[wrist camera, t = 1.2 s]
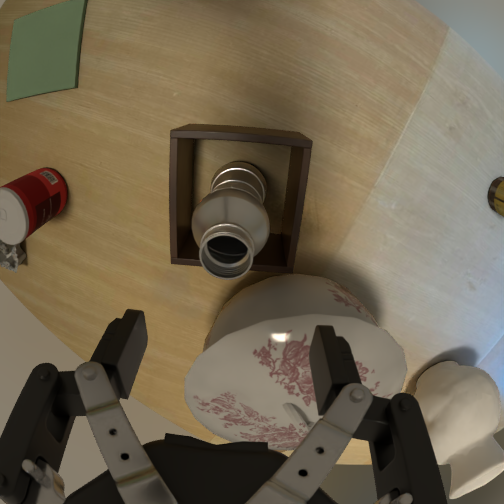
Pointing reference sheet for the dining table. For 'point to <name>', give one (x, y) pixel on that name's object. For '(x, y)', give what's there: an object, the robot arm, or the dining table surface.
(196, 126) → the crate
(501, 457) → the vase
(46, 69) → the mat
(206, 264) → the plastic bottle
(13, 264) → the egg carton
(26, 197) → the canned food
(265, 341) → the chamber pot
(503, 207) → the sauce bottle
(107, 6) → the dining table surface
